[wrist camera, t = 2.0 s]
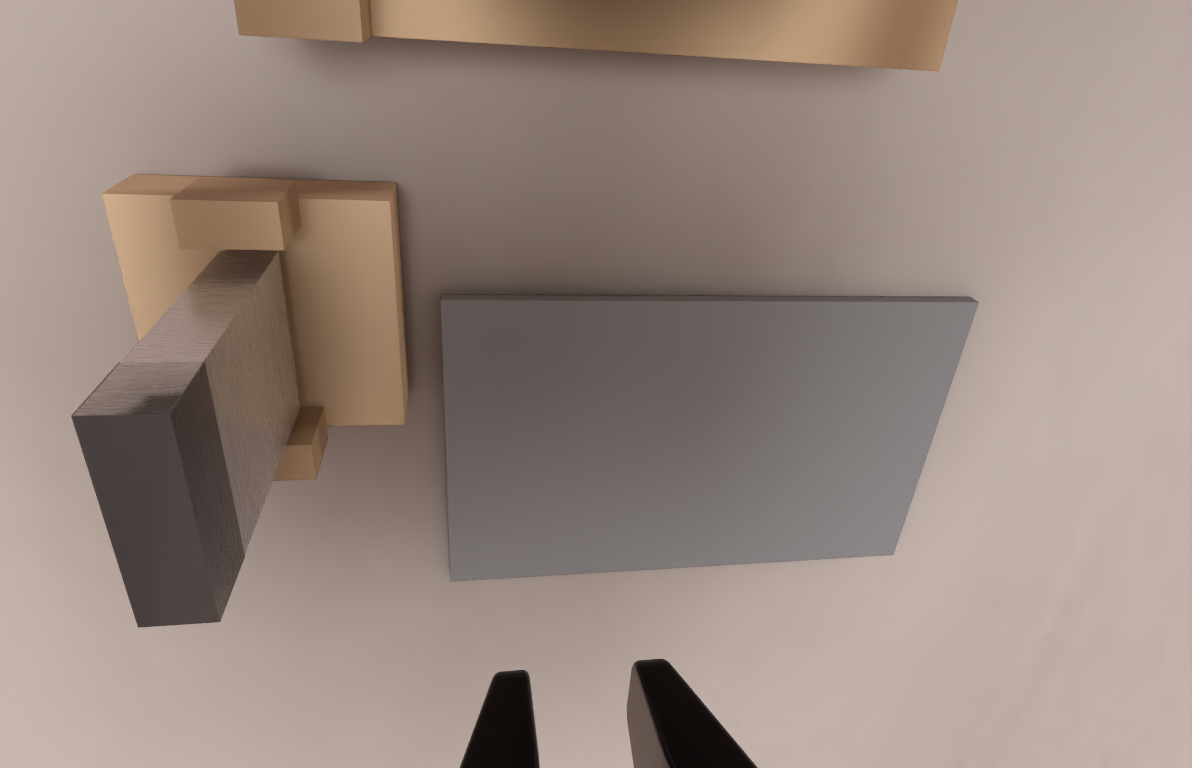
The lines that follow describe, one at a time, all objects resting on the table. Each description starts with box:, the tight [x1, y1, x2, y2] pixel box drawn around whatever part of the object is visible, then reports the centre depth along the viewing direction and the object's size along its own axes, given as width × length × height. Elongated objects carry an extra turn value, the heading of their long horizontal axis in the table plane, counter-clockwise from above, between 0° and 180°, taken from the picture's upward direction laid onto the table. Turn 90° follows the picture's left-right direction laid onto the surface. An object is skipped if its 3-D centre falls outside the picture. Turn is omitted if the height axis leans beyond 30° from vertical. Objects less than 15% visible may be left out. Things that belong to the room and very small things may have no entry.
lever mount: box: [102, 174, 409, 481], centre depth 18 cm, size 6×7×4 cm
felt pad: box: [440, 295, 978, 581], centre depth 24 cm, size 16×10×1 cm, turn 86°
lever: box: [71, 250, 300, 627], centre depth 14 cm, size 1×4×8 cm, turn 176°
